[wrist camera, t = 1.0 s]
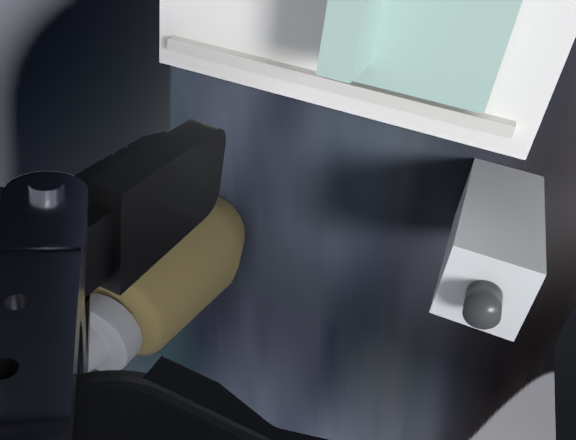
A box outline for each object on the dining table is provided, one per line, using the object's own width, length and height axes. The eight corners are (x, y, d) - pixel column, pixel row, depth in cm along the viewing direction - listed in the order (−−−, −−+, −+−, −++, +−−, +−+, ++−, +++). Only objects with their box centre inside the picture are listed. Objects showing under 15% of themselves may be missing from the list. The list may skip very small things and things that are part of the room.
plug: (543, 176, 32) (547, 294, 22) (519, 233, 34) (512, 363, 24) (474, 158, 33) (448, 263, 23) (455, 214, 35) (423, 332, 25)
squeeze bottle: (267, 199, 40) (113, 367, 25) (251, 282, 44) (111, 466, 30) (171, 162, 42) (-26, 299, 27) (164, 246, 46) (-8, 403, 31)
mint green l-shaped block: (552, -90, 21) (555, -89, 17) (485, 108, 25) (476, 141, 22) (376, -117, 23) (347, -121, 19) (341, 72, 27) (312, 97, 23)
